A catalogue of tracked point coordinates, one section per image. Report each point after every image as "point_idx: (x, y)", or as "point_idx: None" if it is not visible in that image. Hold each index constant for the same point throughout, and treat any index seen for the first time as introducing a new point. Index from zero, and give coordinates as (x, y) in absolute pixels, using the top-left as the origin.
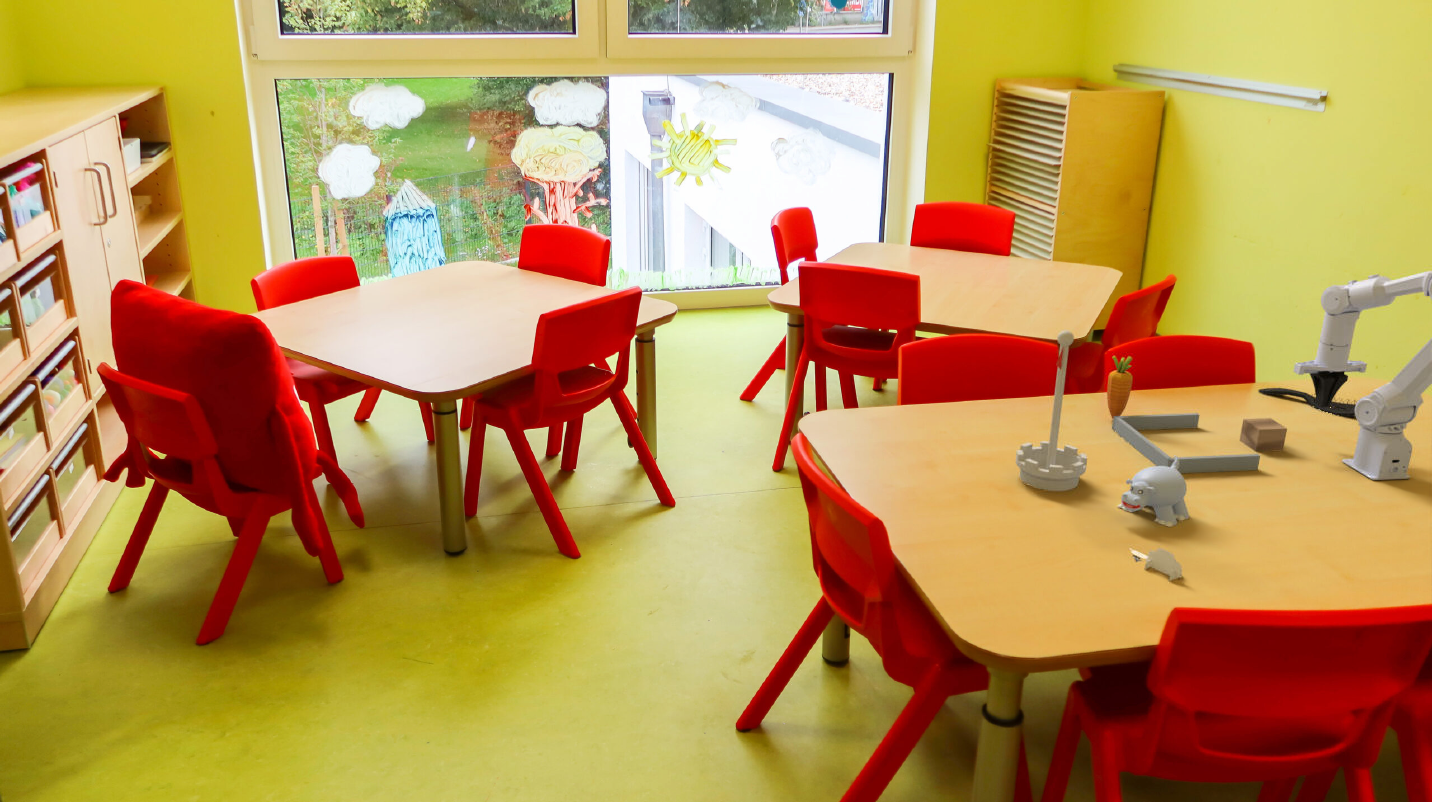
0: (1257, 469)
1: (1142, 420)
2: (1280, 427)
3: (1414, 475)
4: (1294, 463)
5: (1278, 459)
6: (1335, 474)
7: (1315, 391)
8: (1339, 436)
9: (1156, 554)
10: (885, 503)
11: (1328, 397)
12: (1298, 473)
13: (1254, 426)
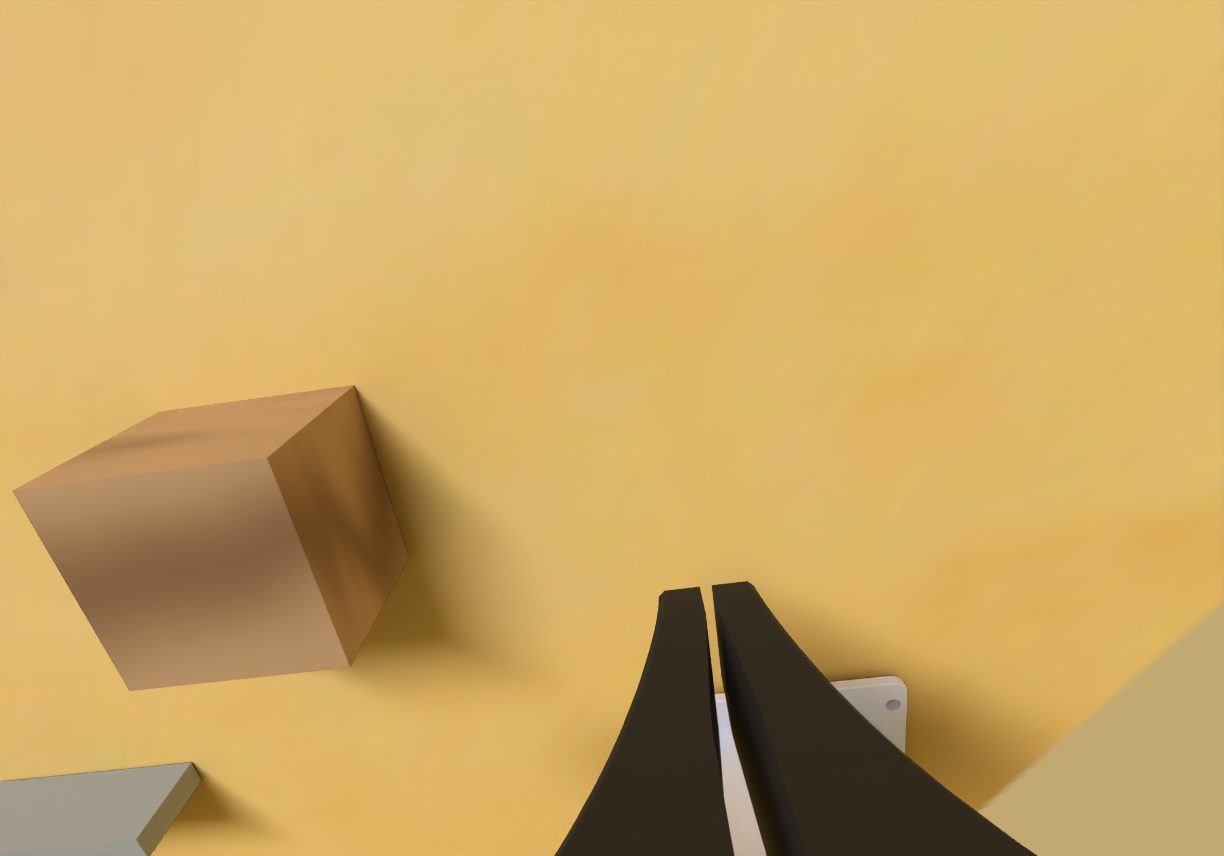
0: (199, 780)
1: None
2: (302, 651)
3: None
4: (412, 712)
5: (342, 671)
6: (567, 810)
7: (635, 705)
8: (938, 301)
9: None
10: None
11: (748, 787)
12: (391, 805)
13: (98, 634)
